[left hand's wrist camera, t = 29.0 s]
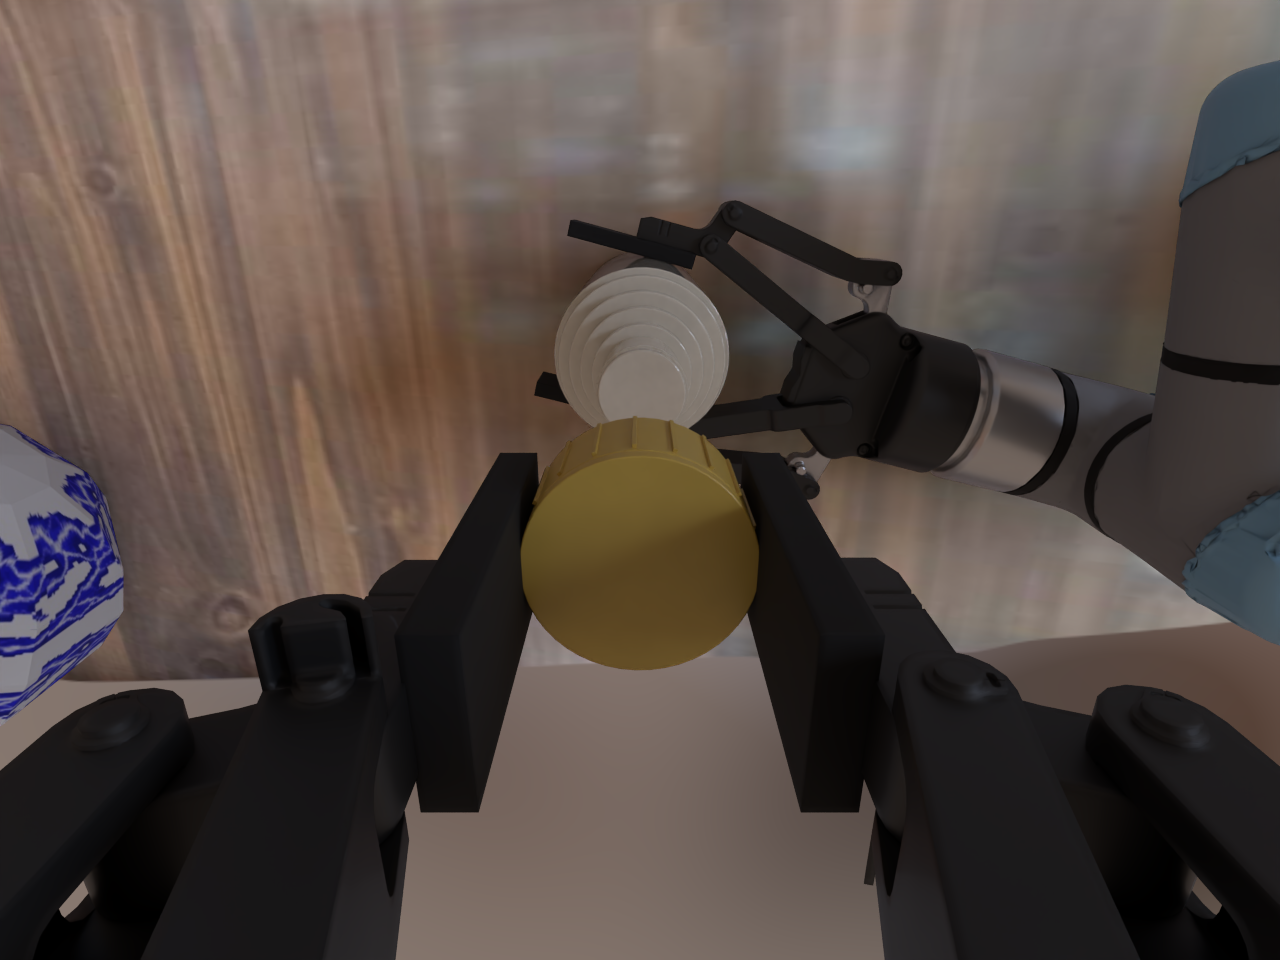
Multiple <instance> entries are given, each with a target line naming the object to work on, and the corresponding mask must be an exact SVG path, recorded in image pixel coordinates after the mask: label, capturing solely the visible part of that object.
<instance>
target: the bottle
mask: <svg viewBox="0 0 1280 960" xmlns="http://www.w3.org/2000/svg"><path fill="white" fill-rule="evenodd" d="M554 362H555V369H556V375H557V378H558V381H559V385H560V387H561V390H562V392H563V394H564V396H565V398H566V399H567V401H568V402H569V404H570V405H571V407H572V408H573V409H574V410H575V412H576V413H577V414H578V415H579V416H580V417H581V418H582V419H583V420H584V421H585V422H587V423H588V424H589V425H591V426H592V427H597V424H598V423H601V424H604V423H607V422H611V421H614V420H620V419H626V418H633V416H637V418H654V419H661V420H665V421H669V420H673V421H674V423H676V424H678V425H681V426H684V427H686V428H690V427H691V426H693V425H694V424H695V423H697V422H698V421H699V420H700V419H701V418H702V417H703V416H704V415H705V414H706V413H707V412H708V411H709V410H710V408H711V407H712V406H713V405H714V403H715V401H716V400H717V398H718V396H719V395H720V392H721V390H722V388H723V386H724V383H725V379H726V376H727V371H728V366H729V344H728V338H727V333H726V329H725V326H724V324H723V321H722V318H721V317H720V315H719V313H718V311H717V309H716V307H715V306H714V305H713V303H712V302H711V301H710V299H709V298H708V297H707V295H706V294H705V293H704V292H703V291H702V289H701V288H700V287H699V286H698V284H697V283H696V282H695V281H694V280H693V278H692V277H691V276H690V275H689V273H688V272H687V271H686V270H685V269H684V268H683V267H681V266H677V265H673V264H670V263H666V262H662V261H659V260H655V259H651V258H648V257H644V256H640V255H637V254H633V253H629V252H628V253H625V254H621V255H619V256H617V257H614V258H612V259H611V260H609V261H608V262H606V263H605V264H604V265H602V266H601V267H600V268H599V269H598V270H597V271H596V272H595V273H594V275H593V276H592V277H591V278H590V280H589V281H588V282H587V283H586V285H585V286H584V287H583V288H582V290H581V291H580V292H579V293H578V295H577V296H576V297H575V298H574V300H573V301H572V303H571V304H570V305H569V307H568V308H567V310H566V312H565V314H564V316H563V318H562V319H561V322H560V325H559V328H558V330H557V335H556V340H555V348H554Z"/></svg>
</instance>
